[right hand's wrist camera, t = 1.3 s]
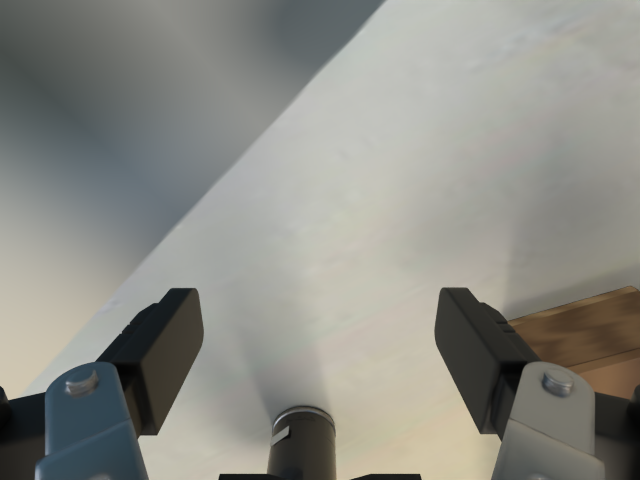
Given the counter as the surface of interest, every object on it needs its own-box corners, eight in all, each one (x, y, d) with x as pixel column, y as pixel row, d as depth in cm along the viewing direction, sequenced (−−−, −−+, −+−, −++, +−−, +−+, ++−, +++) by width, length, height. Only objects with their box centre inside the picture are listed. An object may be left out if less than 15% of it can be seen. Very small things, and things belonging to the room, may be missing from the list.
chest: (510, 376, 48) (550, 433, 40) (499, 323, 45) (541, 373, 36) (633, 343, 46) (703, 396, 38) (631, 285, 43) (707, 329, 34)
